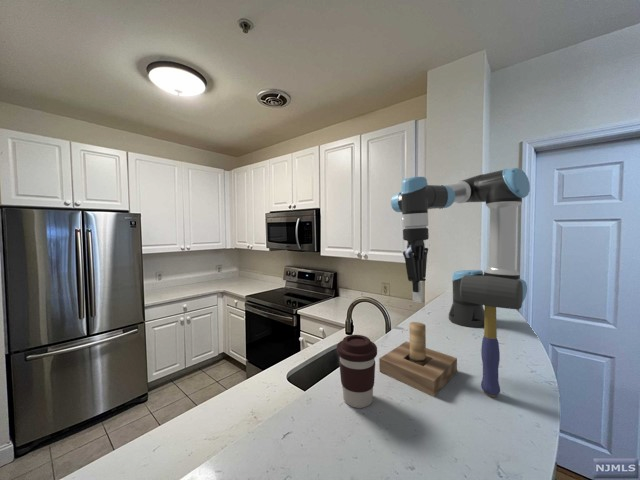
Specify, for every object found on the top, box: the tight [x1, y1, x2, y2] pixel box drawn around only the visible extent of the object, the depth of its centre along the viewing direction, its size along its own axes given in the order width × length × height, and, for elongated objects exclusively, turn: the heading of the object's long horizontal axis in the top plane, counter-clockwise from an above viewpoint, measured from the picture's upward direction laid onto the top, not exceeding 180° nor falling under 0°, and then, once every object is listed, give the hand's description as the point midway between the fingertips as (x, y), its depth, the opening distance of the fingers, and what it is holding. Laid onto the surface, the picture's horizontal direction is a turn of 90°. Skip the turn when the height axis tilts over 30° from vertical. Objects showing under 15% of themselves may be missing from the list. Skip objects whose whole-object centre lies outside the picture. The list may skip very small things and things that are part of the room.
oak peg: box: [409, 321, 427, 366], centre depth 73 cm, size 5×5×14 cm
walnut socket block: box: [378, 341, 458, 398], centre depth 74 cm, size 16×16×4 cm
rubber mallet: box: [460, 275, 523, 398], centre depth 62 cm, size 12×8×30 cm, turn 45°
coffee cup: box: [336, 334, 378, 409], centre depth 62 cm, size 10×10×15 cm
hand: (417, 301), depth 79 cm, fingers closed
